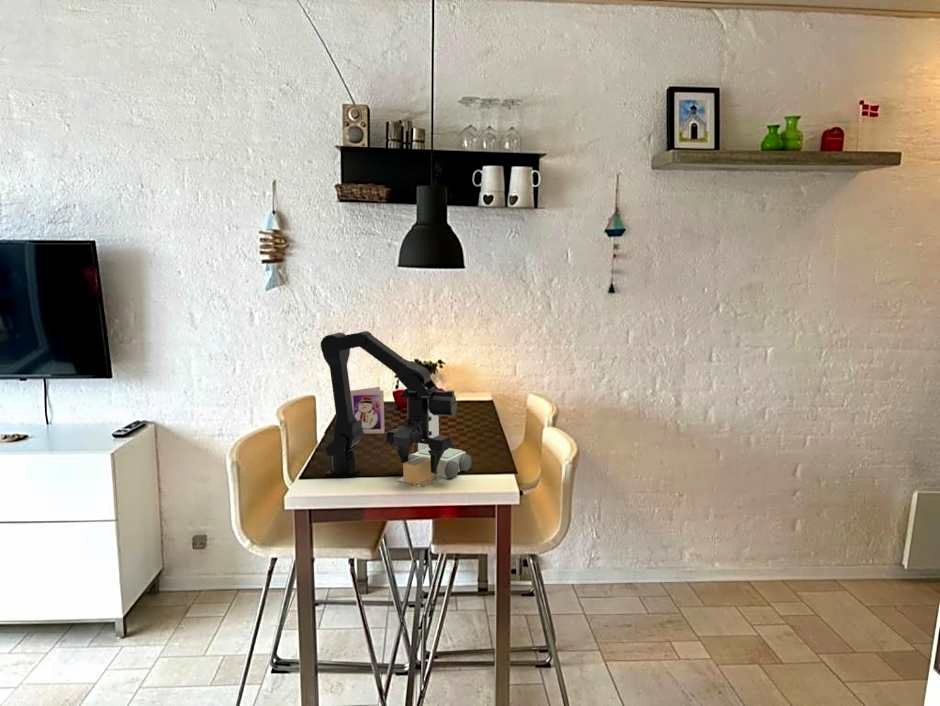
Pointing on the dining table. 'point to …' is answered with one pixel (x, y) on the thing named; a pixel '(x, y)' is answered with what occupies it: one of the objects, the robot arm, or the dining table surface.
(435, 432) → the milk
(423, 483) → the mounting plate
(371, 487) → the dining table surface
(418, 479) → the block
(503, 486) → the dining table surface
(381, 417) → the greeting card
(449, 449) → the mower deck
